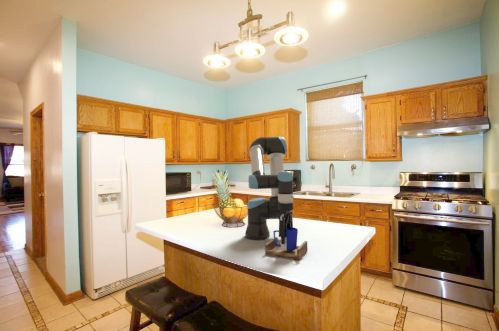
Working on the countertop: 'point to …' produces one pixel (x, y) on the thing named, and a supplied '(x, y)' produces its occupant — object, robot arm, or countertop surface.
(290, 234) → the mug
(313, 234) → the countertop surface
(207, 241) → the countertop surface
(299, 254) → the tray
